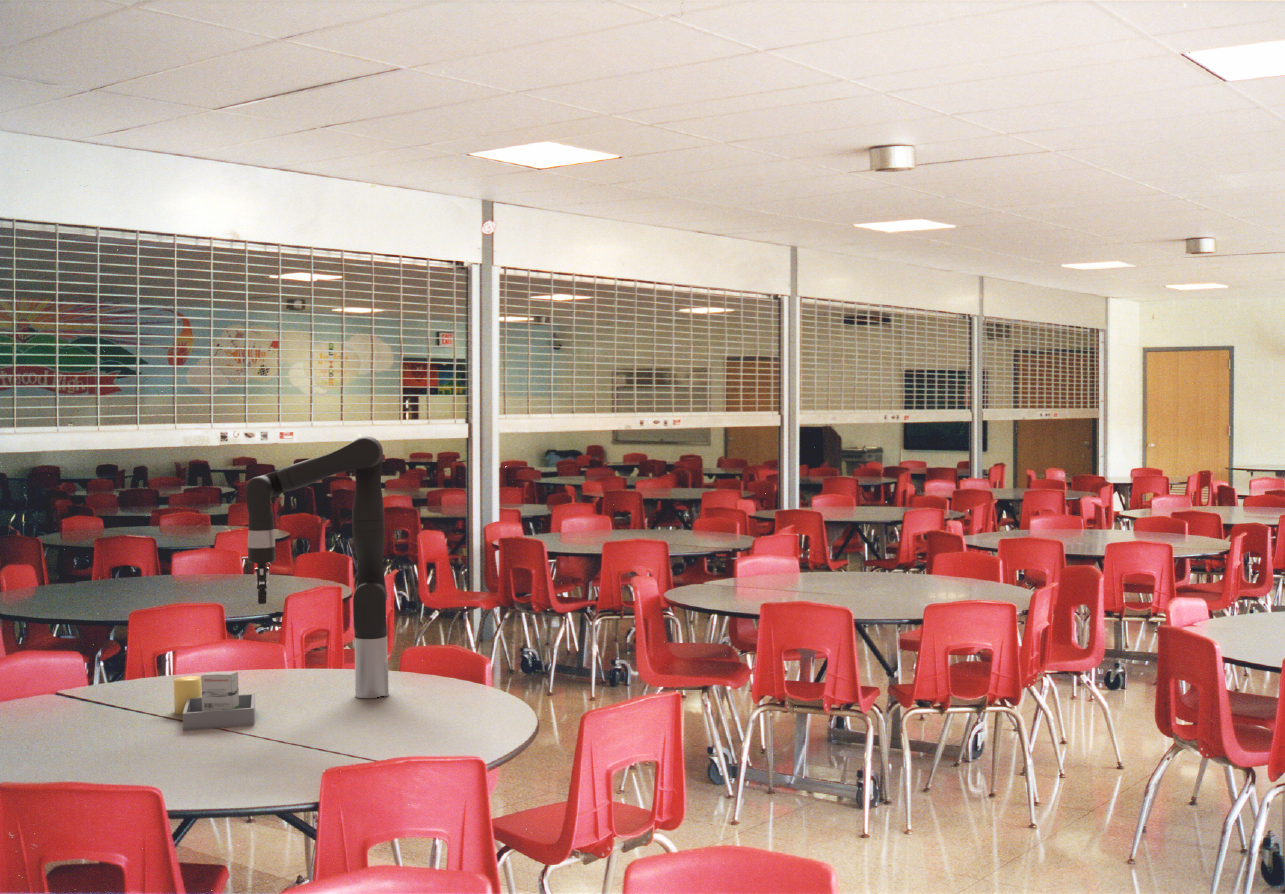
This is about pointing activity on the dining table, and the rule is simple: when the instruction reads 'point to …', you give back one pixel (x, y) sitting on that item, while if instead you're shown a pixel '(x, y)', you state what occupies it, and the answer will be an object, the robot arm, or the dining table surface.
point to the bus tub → (218, 714)
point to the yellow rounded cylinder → (185, 691)
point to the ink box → (220, 691)
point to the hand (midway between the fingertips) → (262, 601)
